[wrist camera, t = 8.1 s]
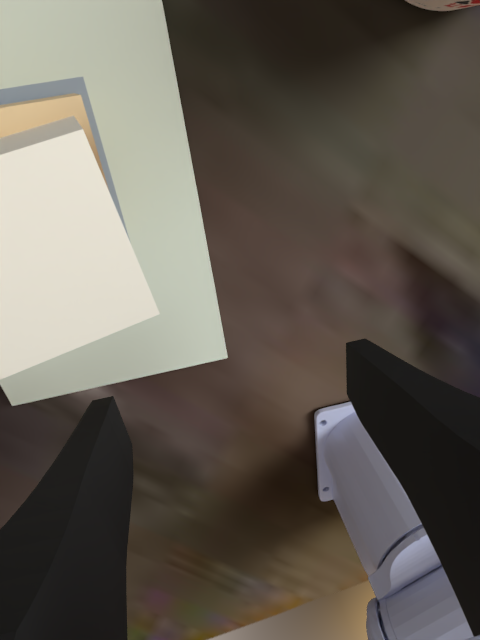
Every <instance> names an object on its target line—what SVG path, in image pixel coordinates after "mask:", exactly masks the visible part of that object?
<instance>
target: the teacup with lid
mask: <svg viewBox="0 0 480 640" xmlns="http://www.w3.org/2000/svg"><path fill="white" fill-rule="evenodd" d="M405 1H407V2H408V3H410V4H412V5H414V6H417V7H420V8H423V9H427V10H434V11H451V10H457V9H463V8H467V7H472V6H477V5H480V0H405Z"/></svg>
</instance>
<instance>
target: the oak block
mask: <svg viewBox="0 0 480 640" xmlns="http://www.w3.org/2000/svg"><path fill="white" fill-rule="evenodd" d="M70 116H74V117H75V118H76V120H77V121H78V123H79V124H80V125H81V127H82V128H83V130H84V133H85V135H86V137H87V140H88V142H89V145H90V147H91V149H92V152H93V154H94V157H95V159H96V161H97V164H98V166H99V169H100V171H101V173H102V176H103V178H104V181H105V183H106V185H107V182H106V179H105V175H104V172H103V168H102V165H101V162H100V158H99V155H98V151H97V148H96V145H95V141H94V138H93V134H92V131H91V128H90V124H89V121H88V117H87V114H86V111H85V107H84V104H83V100H82V97H81V95H79V94H76V93H72V94H65V95H59V96H53V97H47V98H41V99H35V100H28V101H22V102H16V103H10V104H4V105H0V138H1V137H4V136H8V135H11V134H14V133H18V132H21V131H24V130H27V129H31V128H34V127H37V126H40V125H44V124H47V123H50V122H53V121H57V120H60V119H63V118H66V117H70ZM107 188H108V185H107ZM108 190H109V189H108ZM109 193H110V192H109Z"/></svg>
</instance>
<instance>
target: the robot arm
mask: <svg viewBox="0 0 480 640" xmlns="http://www.w3.org/2000/svg"><path fill="white" fill-rule="evenodd" d="M346 368H347V395H348V397H349V399H350V401H351V402H347V403H343V404H339V405H334V406H330V407H326V408H322V409H319V410H317V411H316V412H315V414H314V422H315V440H316V459H317V477H318V495H319V498H320V500H321V501H329V500H333V499H334V502H335V504H336V506H337V508H338V511H339V513H340V515H341V518H342V520H343V522H344V524H345V527H346V529H347V531H348V534H349V536H350V538H351V540H352V543H353V545H354V547H355V549H356V552H357V554H358V556H359V559H360V561H361V563H362V565H363V567H364V569H365V571H366V573H367V574H368V576H369V577H368V579H369V582H370V584H371V586H372V589H373V591H374V593H375V595H376V598H373V599H371V601H370V602H369V603H368V606H367V621H366V629H367V635H368V640H480V398H479V397H477V396H474V395H472V394H469V393H467V392H464V391H462V390H460V389H458V388H455V387H453V386H451V385H449V384H447V383H445V382H443V381H441V380H439V379H437V378H435V377H433V376H431V375H429V374H427V373H425V372H423V371H421V370H419V369H417V368H416V367H414V366H412V365H410V364H408V363H407V362H405V361H403V360H401V359H400V358H398V357H396V356H394V355H393V354H391V353H389V352H388V351H386V350H384V349H382V348H381V347H379V346H377V345H376V344H374V343H372V342H370V341H368V340H367V339H361V340H357V341H352V342H348V343H346ZM323 420H324V421H323ZM321 421H322V422H321ZM132 488H133V453H132V443H131V440H130V438H129V435H128V433H127V430H126V428H125V425H124V423H123V420H122V418H121V415H120V412H119V410H118V407H117V405H116V402H115V400H114V397H113V396H111V397H107V398H103V399H98V400H94V401H92V402H91V404H90V405H89V407H88V408H87V410H86V412H85V413H84V415H83V417H82V418H81V420H80V422H79V423H78V425H77V427H76V428H75V430H74V431H73V433H72V435H71V436H70V438H69V440H68V441H67V443H66V444H65V446H64V447H63V449H62V450H61V452H60V454H59V455H58V457H57V458H56V460H55V461H54V463H53V464H52V465H51V467H50V468H49V470H48V471H47V472H46V474H45V475H44V477H43V478H42V480H41V481H40V482H39V484H38V485H37V486H36V488H35V489H34V490H33V492H32V493H31V494H30V496H29V497H28V498H27V499H26V501H25V502H24V503H23V504H22V505H21V507H20V508H19V509H18V510H17V511H16V513H15V514H14V515H13V516H12V517H11V518H10V520H9V521H8V522H7V523H6V524H5V525H4V526H3V527H2V528H1V529H0V640H127V606H126V559H127V544H128V533H129V522H130V511H131V499H132Z"/></svg>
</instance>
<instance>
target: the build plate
mask: <svg viewBox="0 0 480 640" xmlns="http://www.w3.org/2000/svg"><path fill="white" fill-rule="evenodd" d="M72 93H76V94H79V95H81V97H82V100H83V104H84V107H85V111H86V114H87V117H88V121H89V124H90V128H91V131H92V134H93V138H94V141H95V145H96V148H97V151H98V155H99V158H100V162H101V165H102V168H103V172H104V175H105V179H106V182H107V185H108V189H109V192H110V195H111V197H112V200H113V202H114V205H115V207H116V209H117V212H118V214H119V217H120V219H121V221H122V224H123V226H124V229H125V231H126V234H127V236H128V238H129V241H130V243H131V246H132V248H133V250H134V253H135V255H136V258H137V260H138V262H139V265H140V267H141V270H142V272H143V274H144V277H145V279H146V282H147V284H148V286H149V289H150V291H151V294H152V296H153V298H154V301H155V303H156V306H157V308H158V310H159V313H160V314H159V315H156V316H154V317H151V318H149V319H147V320H144V321H142V322H139V323H137V324H134V325H132V326H130V327H127V328H125V329H122V330H120V331H117V332H115V333H113V334H110V335H108V336H105V337H103V338H100V339H98V340H95V341H93V342H91V343H88V344H86V345H83V346H81V347H78V348H76V349H74V350H71V351H69V352H66V353H64V354H61V355H59V356H57V357H54V358H52V359H49V360H47V361H44V362H42V363H40V364H37V365H35V366H32V367H30V368H27V369H25V370H23V371H20V372H18V373H15V374H13V375H10V376H8V377H6V378H3V379H1V380H0V385H1V387H2V389H3V390H4V392H5V394H6V396H7V398H8V399H9V401H10V403H11V405H12V406H15V405H20V404H24V403H29V402H33V401H37V400H42V399H46V398H51V397H55V396H60V395H64V394H69V393H73V392H78V391H82V390H87V389H91V388H96V387H100V386H105V385H109V384H113V383H118V382H122V381H127V380H131V379H136V378H140V377H145V376H149V375H154V374H158V373H163V372H167V371H172V370H176V369H181V368H185V367H190V366H194V365H198V364H203V363H207V362H212V361H216V360H221V359H225V358H228V356H227V351H226V345H225V340H224V335H223V329H222V324H221V318H220V313H219V307H218V302H217V297H216V291H215V286H214V280H213V275H212V269H211V264H210V259H209V253H208V248H207V242H206V237H205V231H204V226H203V221H202V215H201V210H200V204H199V199H198V193H197V188H196V183H195V177H194V172H193V166H192V161H191V155H190V150H189V145H188V139H187V134H186V128H185V123H184V117H183V112H182V107H181V101H180V96H179V90H178V85H177V79H176V74H175V69H174V63H173V58H172V52H171V47H170V41H169V36H168V31H167V25H166V20H165V14H164V9H163V3H162V0H0V105H4V104H10V103H16V102H22V101H28V100H35V99H41V98H47V97H53V96H59V95H65V94H72Z"/></svg>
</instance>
